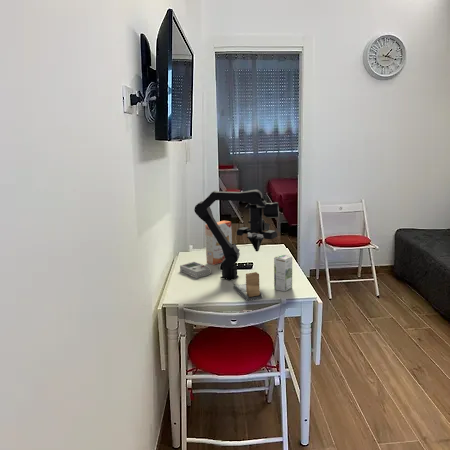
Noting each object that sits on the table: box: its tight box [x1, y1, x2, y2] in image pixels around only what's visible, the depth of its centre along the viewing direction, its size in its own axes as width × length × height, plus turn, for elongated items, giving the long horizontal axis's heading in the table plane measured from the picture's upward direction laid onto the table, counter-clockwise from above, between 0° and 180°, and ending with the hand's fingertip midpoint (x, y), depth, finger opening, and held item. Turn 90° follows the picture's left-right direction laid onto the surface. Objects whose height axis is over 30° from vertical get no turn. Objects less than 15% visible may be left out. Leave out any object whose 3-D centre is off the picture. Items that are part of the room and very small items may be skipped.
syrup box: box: [273, 253, 293, 292], centre depth 187 cm, size 6×6×14 cm
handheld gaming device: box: [179, 261, 211, 279], centre depth 215 cm, size 9×15×4 cm, turn 39°
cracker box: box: [204, 220, 233, 266], centre depth 229 cm, size 14×6×21 cm, turn 134°
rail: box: [233, 283, 263, 302], centre depth 185 cm, size 16×6×3 cm, turn 20°
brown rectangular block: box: [245, 271, 261, 297], centre depth 178 cm, size 3×5×9 cm, turn 109°
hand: (257, 251), depth 200 cm, fingers closed
